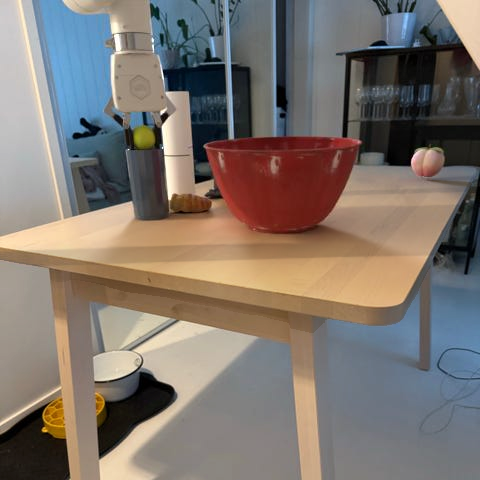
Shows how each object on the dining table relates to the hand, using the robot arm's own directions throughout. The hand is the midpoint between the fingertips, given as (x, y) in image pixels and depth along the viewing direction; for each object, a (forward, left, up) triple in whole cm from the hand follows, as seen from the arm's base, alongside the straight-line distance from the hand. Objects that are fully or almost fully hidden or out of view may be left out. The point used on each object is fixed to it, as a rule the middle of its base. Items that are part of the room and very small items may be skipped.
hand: (144, 148), depth 95 cm
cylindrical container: (+11, +19, -14) cm, 26 cm away
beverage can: (+21, +17, -14) cm, 31 cm away
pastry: (+9, +3, -14) cm, 17 cm away
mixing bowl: (+22, -20, -14) cm, 33 cm away
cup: (0, 0, -14) cm, 14 cm away
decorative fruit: (+85, +15, -14) cm, 88 cm away
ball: (0, 0, -1) cm, 1 cm away
